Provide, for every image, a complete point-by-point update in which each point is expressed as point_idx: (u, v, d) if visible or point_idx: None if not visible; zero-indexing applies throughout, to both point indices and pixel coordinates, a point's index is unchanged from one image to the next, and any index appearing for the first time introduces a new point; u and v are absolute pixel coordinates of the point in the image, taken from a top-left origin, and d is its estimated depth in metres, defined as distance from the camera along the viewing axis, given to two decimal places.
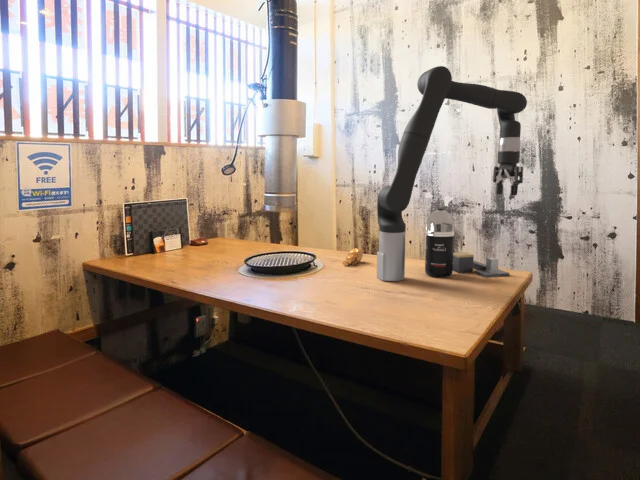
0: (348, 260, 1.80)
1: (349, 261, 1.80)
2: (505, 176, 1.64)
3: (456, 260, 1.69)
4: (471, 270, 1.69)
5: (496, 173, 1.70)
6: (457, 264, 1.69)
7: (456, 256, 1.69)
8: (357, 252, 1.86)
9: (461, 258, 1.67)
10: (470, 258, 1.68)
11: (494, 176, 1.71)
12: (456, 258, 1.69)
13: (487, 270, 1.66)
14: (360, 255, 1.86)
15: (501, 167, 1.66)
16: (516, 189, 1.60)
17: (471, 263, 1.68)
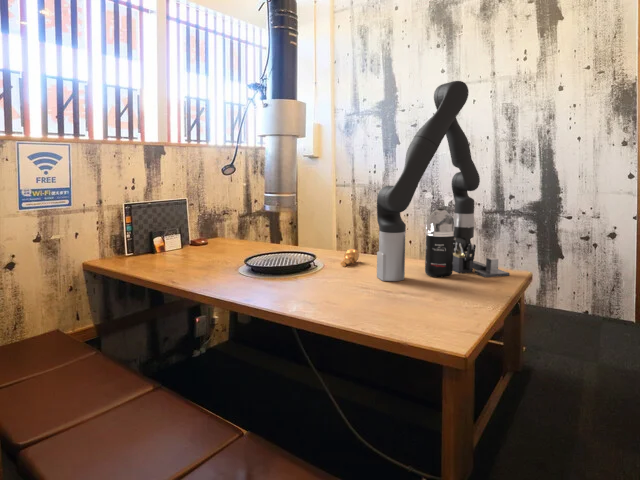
0: (346, 260, 1.80)
1: (347, 261, 1.80)
2: (460, 249, 1.70)
3: (456, 260, 1.69)
4: (471, 270, 1.69)
5: None
6: (457, 264, 1.69)
7: (456, 256, 1.69)
8: (354, 252, 1.85)
9: (461, 258, 1.67)
10: None
11: None
12: (456, 258, 1.69)
13: (487, 270, 1.66)
14: (357, 255, 1.86)
15: (457, 239, 1.72)
16: (468, 265, 1.67)
17: (471, 263, 1.68)
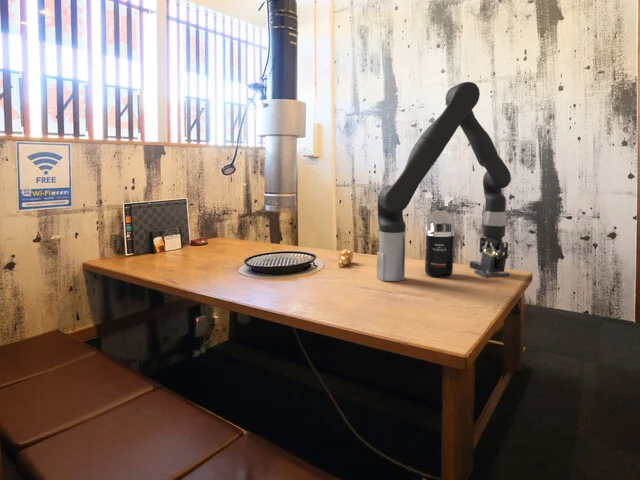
0: (344, 261, 1.78)
1: (345, 262, 1.78)
2: (491, 249, 1.64)
3: (488, 258, 1.63)
4: (502, 269, 1.63)
5: (482, 244, 1.70)
6: (488, 262, 1.63)
7: (488, 254, 1.62)
8: (349, 253, 1.84)
9: (493, 258, 1.61)
10: None
11: (480, 246, 1.70)
12: (488, 257, 1.63)
13: None
14: (352, 256, 1.85)
15: (487, 239, 1.66)
16: (501, 264, 1.60)
17: (503, 262, 1.62)
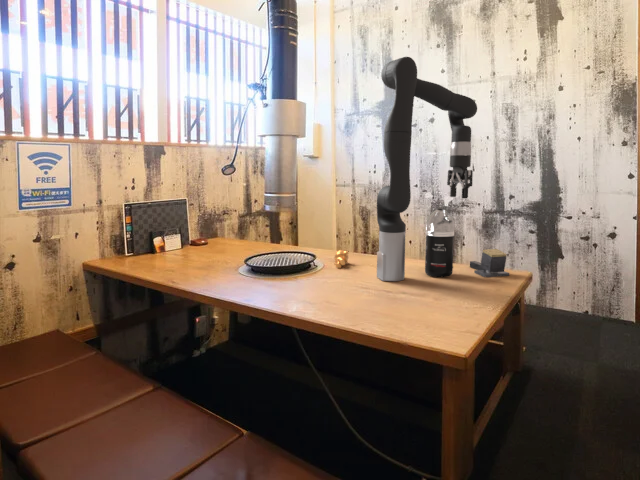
0: (342, 262, 1.77)
1: (343, 263, 1.77)
2: (457, 179, 1.69)
3: (488, 258, 1.63)
4: (502, 269, 1.63)
5: (450, 176, 1.74)
6: (488, 262, 1.63)
7: (488, 255, 1.62)
8: (345, 253, 1.83)
9: (493, 258, 1.61)
10: (503, 257, 1.62)
11: (448, 179, 1.75)
12: (488, 257, 1.63)
13: None
14: (347, 256, 1.84)
15: (454, 170, 1.71)
16: (467, 192, 1.65)
17: (503, 262, 1.62)
